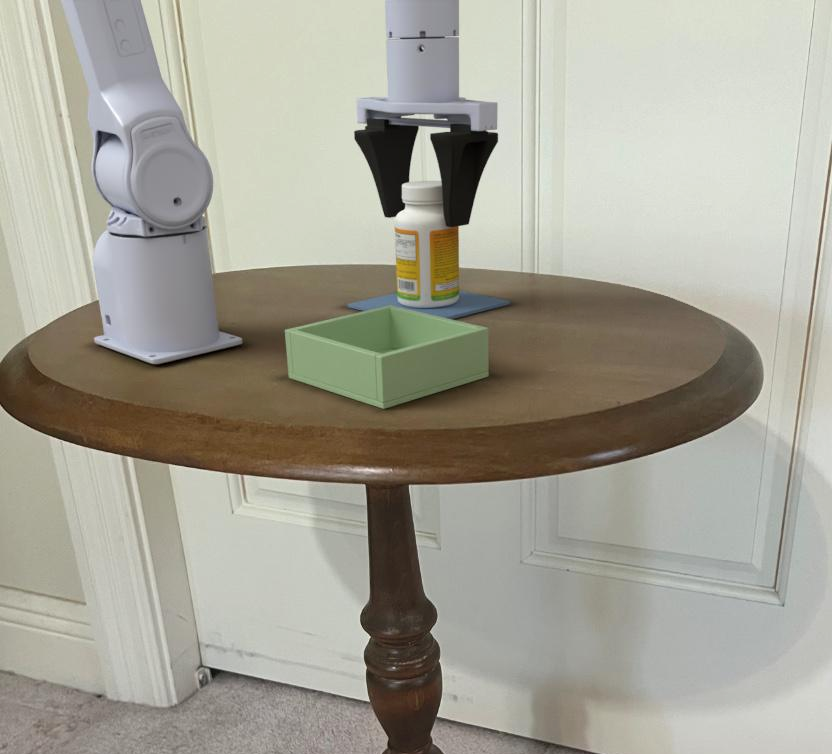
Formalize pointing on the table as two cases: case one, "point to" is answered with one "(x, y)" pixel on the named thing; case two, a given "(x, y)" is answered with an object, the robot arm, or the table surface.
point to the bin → (387, 355)
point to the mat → (462, 307)
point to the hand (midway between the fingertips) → (425, 220)
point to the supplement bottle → (425, 249)
